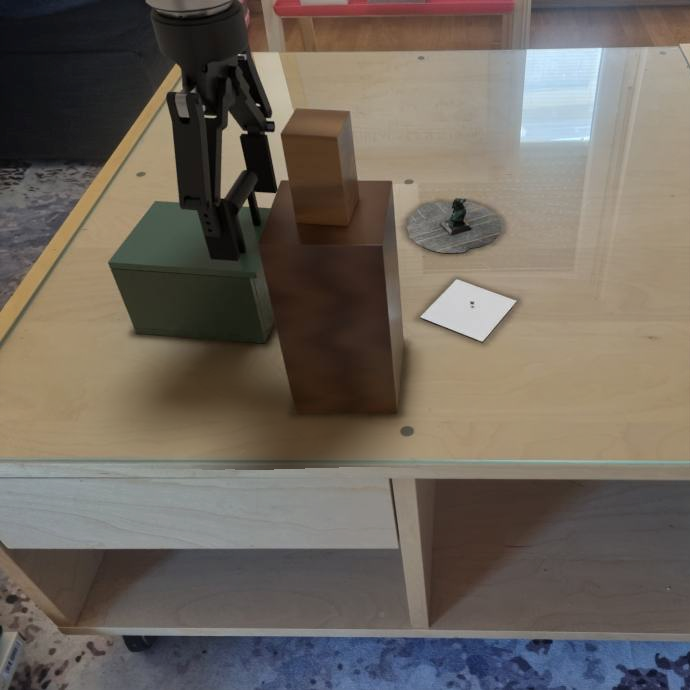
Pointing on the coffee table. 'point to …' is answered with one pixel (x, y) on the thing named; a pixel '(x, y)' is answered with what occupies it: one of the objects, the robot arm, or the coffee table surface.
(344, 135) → the block
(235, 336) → the green box
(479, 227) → the sculpture
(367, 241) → the plinth
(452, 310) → the coaster
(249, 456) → the coffee table surface
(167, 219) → the box lid
